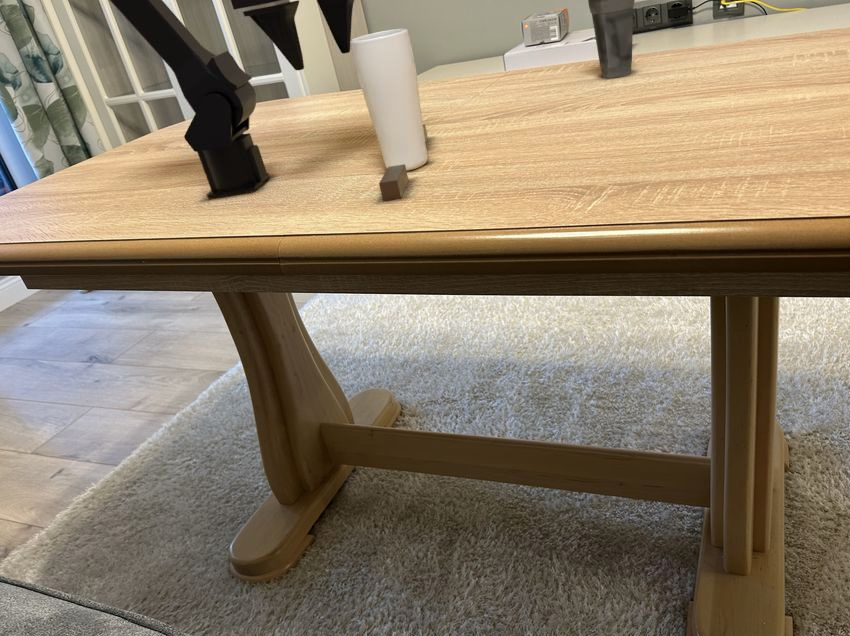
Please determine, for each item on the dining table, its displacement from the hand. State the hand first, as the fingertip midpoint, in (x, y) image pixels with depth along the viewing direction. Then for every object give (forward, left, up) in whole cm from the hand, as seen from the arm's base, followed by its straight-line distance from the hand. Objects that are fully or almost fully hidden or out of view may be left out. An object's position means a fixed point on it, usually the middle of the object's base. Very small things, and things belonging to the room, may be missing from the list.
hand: (323, 61), depth 84 cm
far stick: (+8, +6, -13) cm, 16 cm away
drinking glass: (+8, -4, -13) cm, 16 cm away
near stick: (+8, -13, -13) cm, 20 cm away
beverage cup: (+37, +31, -13) cm, 50 cm away
